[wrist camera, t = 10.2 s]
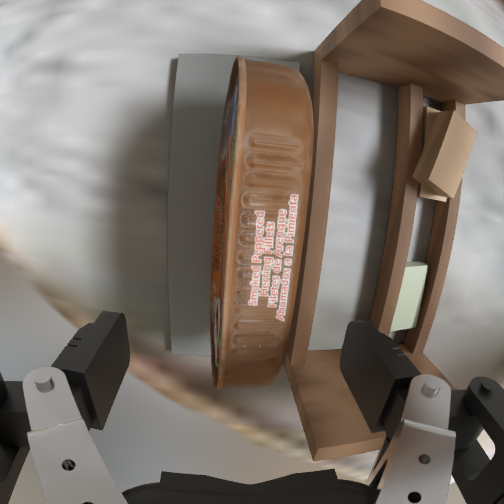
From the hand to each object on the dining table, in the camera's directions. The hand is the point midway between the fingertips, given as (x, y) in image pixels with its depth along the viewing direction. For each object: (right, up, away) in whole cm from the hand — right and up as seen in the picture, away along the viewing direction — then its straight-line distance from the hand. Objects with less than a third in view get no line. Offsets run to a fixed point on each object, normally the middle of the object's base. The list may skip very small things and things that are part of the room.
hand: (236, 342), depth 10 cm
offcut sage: (+12, 0, +11) cm, 16 cm away
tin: (0, +5, +7) cm, 9 cm away
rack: (+9, +5, +9) cm, 14 cm away
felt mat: (-1, +5, +8) cm, 9 cm away
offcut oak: (+13, +9, +6) cm, 17 cm away
